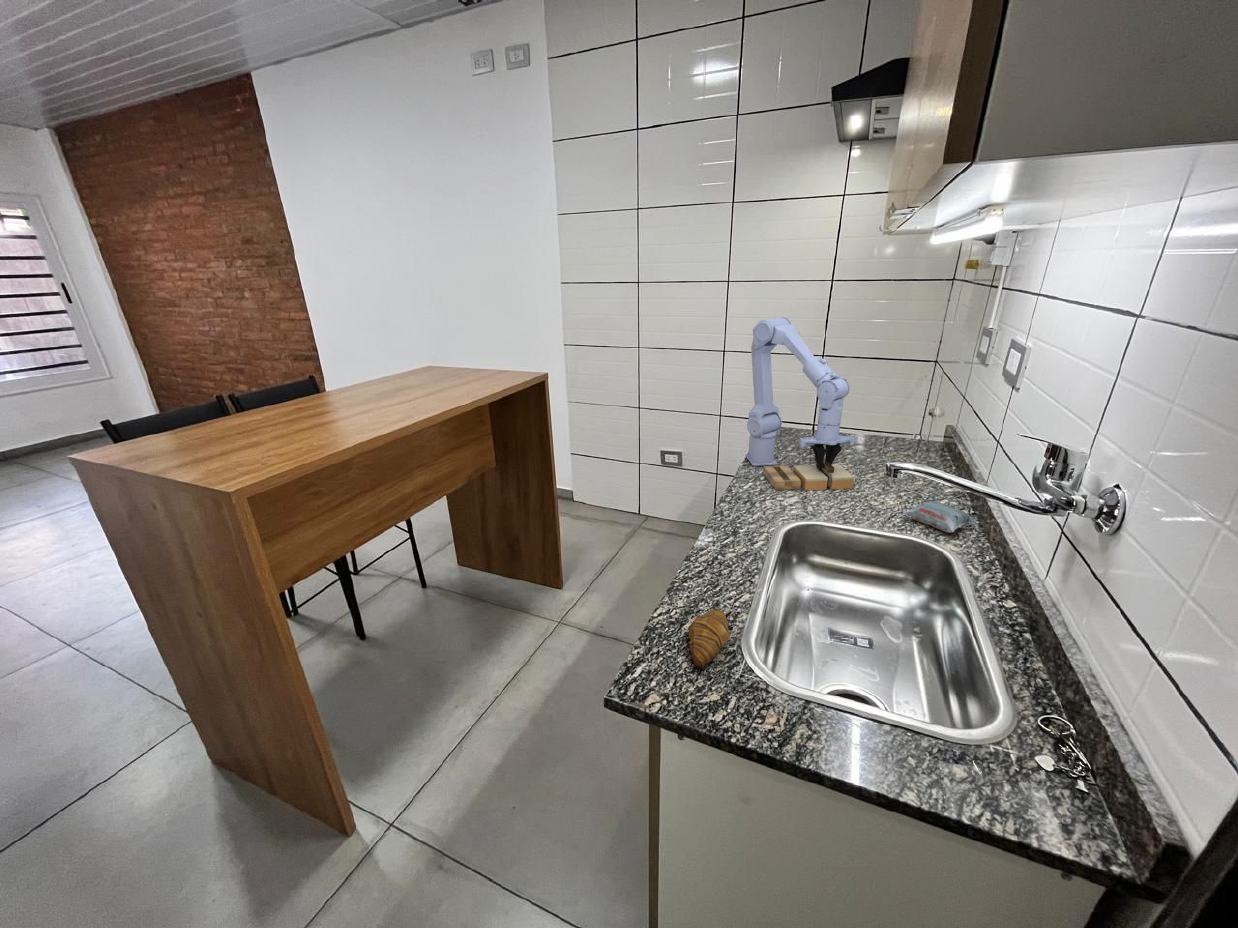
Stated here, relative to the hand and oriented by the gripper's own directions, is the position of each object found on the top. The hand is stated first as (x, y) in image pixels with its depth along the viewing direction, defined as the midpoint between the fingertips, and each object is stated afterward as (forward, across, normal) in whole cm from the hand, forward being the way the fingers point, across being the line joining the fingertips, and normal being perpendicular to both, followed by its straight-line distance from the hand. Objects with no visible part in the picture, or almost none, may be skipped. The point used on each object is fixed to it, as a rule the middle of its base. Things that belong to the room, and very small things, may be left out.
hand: (823, 468), depth 137 cm
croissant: (+4, -44, -62) cm, 76 cm away
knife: (+3, 0, 0) cm, 3 cm away
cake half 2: (+4, +4, 0) cm, 5 cm away
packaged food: (+4, +16, -27) cm, 32 cm away
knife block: (+4, -11, +2) cm, 12 cm away
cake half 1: (+4, -4, 0) cm, 5 cm away
